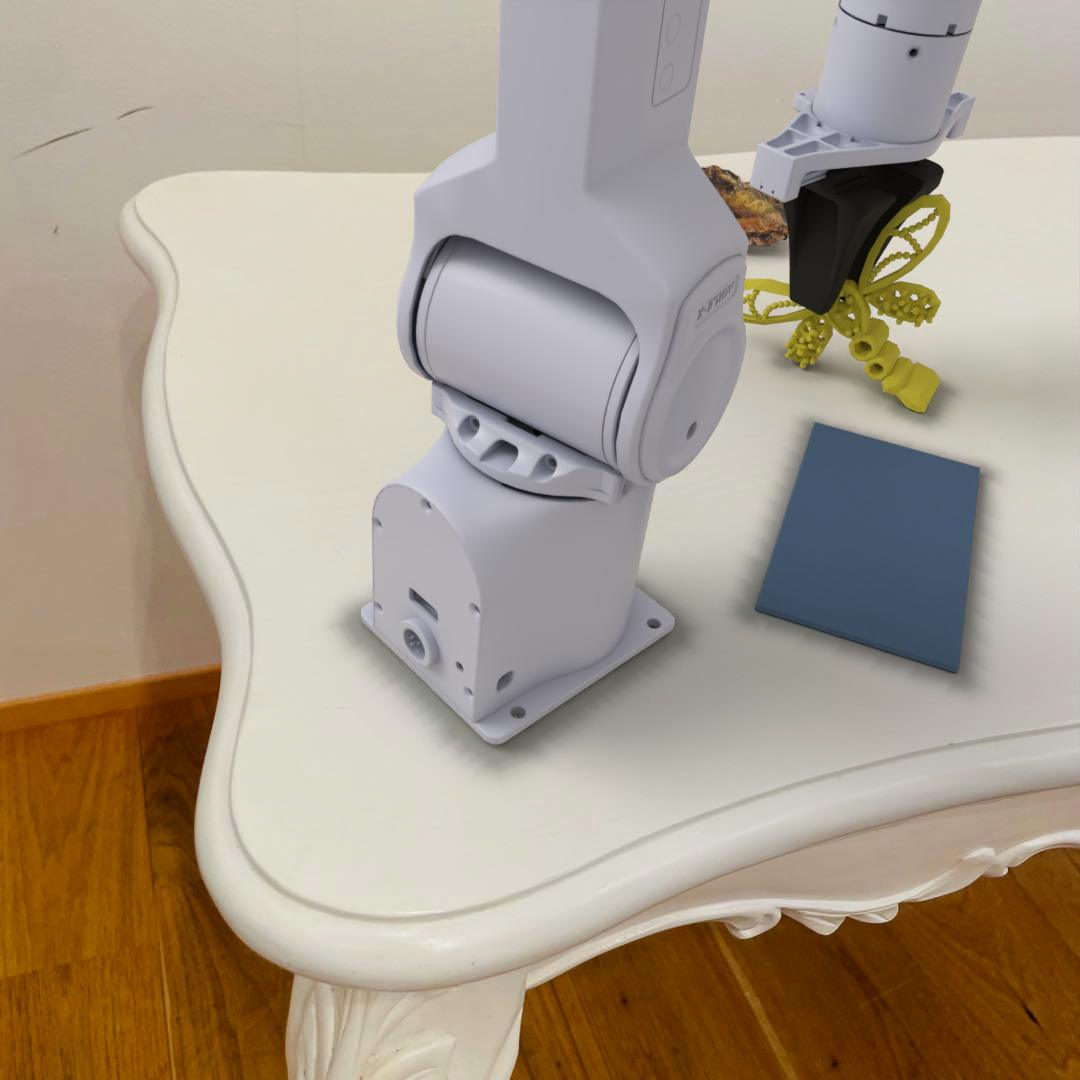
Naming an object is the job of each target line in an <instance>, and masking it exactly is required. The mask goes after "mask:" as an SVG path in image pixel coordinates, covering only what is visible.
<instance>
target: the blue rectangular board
mask: <svg viewBox="0 0 1080 1080" xmlns="http://www.w3.org/2000/svg"><path fill="white" fill-rule="evenodd" d="M980 473H981V467H979V466H976V465H972V464H969V463H966V462H961V461H957V460H954V459H950V458H947V457H943V456H939V455H935V454H933V453H928V452H925V451H921V450H918V449H914V448H910V447H907V446H904V445H901V444H900V445H899V444H896V443H892V442H889V441H886V440H882V439H878V438H874V437H872V436H867V435H864V434H860V433H857V432H853V431H849V430H846V429H842V428H838V427H835V426H831V425H827V424H825V423H820V422H817V421H815V422H814V423H813V427H812V429H811V434H810V436H809V439H808V441H807V445H806V449H805V452H804V455H803V458H802V461H801V464H800V467H799V470H798V473H797V477H796V480H795V483H794V486H793V489H792V493H791V496H790V499H789V502H788V505H787V507H786V511H785V514H784V517H783V521H782V523H781V526H780V530H779V533H778V535H777V538H776V542H775V546H774V548H773V552H772V554H771V558H770V561H769V564H768V568H767V570H766V573H765V574H766V575H765V576H764V580H763V583H762V586H761V589H760V592H759V595H758V599H757V602H756V605H755V608H754V609H755V611H758V612H762V613H765V614H767V615H771V616H775V617H778V618H781V619H784V620H787V621H790V622H793V623H796V624H799V625H803V626H806V627H808V628H812V629H815V630H818V631H822V632H825V633H828V634H831V635H834V636H837V637H841V638H843V639H847V640H851V641H854V642H857V643H860V644H863V645H866V646H869V647H872V648H876V649H878V650H881V651H885V652H888V653H891V654H895V655H897V656H900V657H903V658H906V659H911V660H913V661H916V662H919V663H923V664H926V665H929V666H932V667H937V668H939V669H941V670H945V671H948V672H950V673H955V674H957V673H958V671H959V669H960V662H961V653H962V643H963V635H964V625H965V617H966V607H967V599H968V597H967V596H968V588H969V587H968V586H969V577H970V569H971V568H970V567H971V558H972V550H973V540H974V539H973V538H974V530H975V520H976V511H977V502H978V493H979V482H980Z"/></svg>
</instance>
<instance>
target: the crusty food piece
mask: <svg viewBox="0 0 1080 1080" xmlns="http://www.w3.org/2000/svg"><path fill="white" fill-rule="evenodd" d="M701 169H702V170H703V172H704V173H705V175H706V176H707V177H708V179H709V180H710V182H711V183H712V184H713V186H714V187H715V189H716V190H717V192H718V193H719V194H720V196H721V197H722V199H723V200H724V201H725V203H726V204H727V206H728V207H729V209H730V210H731V212H732V213H733V215H734V216H735V218H736V220H737V221H738V223H739V224H740V226H741V227H742V229H743V230H744V232H745V233H746V236H747V238H748V241H749V246H750V245H751V246H754V247H770V246H771V245H772V244H775V243H776V242H779V240H781V241H787V240H788V238H789V237H788V228H787V222H785V221H784V218H783V216H782V214H781V212H780V211H779V210H776V209H775V208H777V209H782V210H784V207H783V203H782V201H780V200H777V199H775V198H774V197H771V196H769V195H767V194H765V193H763V192H761V191H759V190H757V189H755V188H753V187H750V185H749V183H750V181H742V179H741V176H740V175H737V174H736V173H734V172H733V171H731V170H730V169H725V168H721V166H718V165H715V164H710V165H708V166H706V167H705V166H703V167H701Z"/></svg>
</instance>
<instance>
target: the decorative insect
mask: <svg viewBox="0 0 1080 1080" xmlns="http://www.w3.org/2000/svg"><path fill="white" fill-rule="evenodd" d="M951 205H952V204H951V203H950V202H949V200H948V199H947V197H945V196H944V194H942V193H940V194H938V193H937V194H929V195H923V196H921V197H920V198H918V199H916V200H914V201H913V202H911V203H909V204H907V205H906V206H904V207H903V208H902V209H901V210H900V211H899V212H898V213H897V214H896V215H895V216H894V218H893V219H892V220H891V221H890V222H889V223H888V224H887V225H886V226H885V227H884V229H883V230H882V231H881V233H880V235H879V236H878V238H877V240H876V242H875V243H874V245H873V247H872V248H871V250H870V252H869V254H868V256H867V259H866V262H865V265H864V267H863V270H862V273H861V276H860V279H859V286H858V285H857V284H856V283H855V282H854V281H853V280H848V279H846V280H845V283H844V285H843V287H842V290H841V292H840V294H839V296H838V298H837V300H836V301H835V303H834V305H833V306H832V308H831V309H830V311H829V312H827V313H825V314H823V315H818V314H816V313H814V312H812V311H810V310H808V309H806V308H805V307H804V308H802V307H803V306H801V305H799V304H797V303H795V302H793V301H792V300H790V299H787V300H786V299H785V300H784V301H783V300H779V301H777V302H772V303H771V304H768V305H766V306H765V309H763V310H762V314H760V313H759V311H758V310H757V309H756V306H755V305H756V302H755V301H756V300H757V296H759V295H760V293H761V292H765V293H768V294H774V295H779V296H784V297H788V298H790V291H789V283H786V282H782V281H779V280H776V279H773V278H745V284H744V291H750V290H752V293H748V294H746V295H745V296H743V305H745V304H747V305H748V306H749V307H748V311H749V312H750V313H749V314H748V313H745V312H743V320H744V324H752V325H760V326H768V325H769V326H770V325H776V324H784V323H790V322H798V321H799V323H798V324H797V326H796V328H795V330H794V331H793V332H792V333H791V338H790V339H789V341H787V342H786V343H784V347H785V348H786V349H788V350H787V352H786V353H785V354H784V358H785V359H788V360H789V359H792V360H793V362H794V363H797V364H799V367H800V369H803V370H805V368H806V367H807V365H808V364H809V365H811V366H814V365H816V362H817V359H819V358H820V357H821V355H822V354H823V352H824V350H825V349H826V347H827V345H828V344H829V342H830V341H831V339H832V337H833V336H834V330H835V331H836V332H837V333H838V334H840V335H841V336H843V337H844V338H847V339H850V342H849V343H848V350H849V353H850V356H851V357H853V358H854V359H855V360H856V361H857V362H858V361H859V362H864V363H865V364H864V366H863V368H864V373H865V375H867V377H868V378H870V379H871V380H875V381H877V382H878V381H881V382H880V383H881V388H882V392H883V393H886V394H889V395H892V396H896V398H898V399H899V400H900V402H901V403H902V404H903V405H904V406H905V407H906V408H907V409H909V410H912V411H913V412H916V413H925V412H926V410H927V408H928V406H929V404H930V402H931V401H932V398H933V397H934V395H935V393H936V391H937V389H938V387H939V386H940V383H941V381H942V380H941V378H940V377H939V376H938V373H937V372H936V371H935V370H934V369H932V368H930V367H928V366H927V365H924V364H922V363H921V362H918V361H917V362H915V363H914V362H913V361H912V360H911V358H909V357H904V356H901V351H900V349H899V346H898V344H896V343H895V342H892V340H889V337H890V327H889V326H888V324H887V323H886V322H885V320H884V319H881V318H877V317H874V316H872V309H871V306H872V307H874V308H875V309H877V310H878V311H877V312H876V314H877V316H880V317H882V316H883V315H885V316H887V317H889V318H892V319H896V320H895V324H896V325H898V326H901V325H902V324H903V322H907V323H910V324H913V326H914V327H915V328H920V327H921V325H922V323H924V321H925V322H926V324H932V323H933V318H935V317H936V316H937V313H938V311H939V309H940V306H941V304H942V302H941V300H940V298H939V297H938V295H937V293H936V291H935V290H933V289H931V288H929V287H926V286H925V285H924V284H923V285H922V284H920V283H915V282H909V281H904V280H899V279H901V278H903V277H905V276H906V275H908V274H909V273H911V272H913V271H914V269H916V267H917V266H919V265H920V264H921V263H922V262H923V261H924V260H925V259H926V258H927V257H928V256H929V255H930V254H932V252H933V251H934V249H935V248H936V247H937V246H938V244H939V242H940V241H941V239H942V238H943V237H944V235H945V232H946V230H947V227H948V225H949V223H950V221H951ZM921 209H933V211H932V213H929V214H928V215H927V217H924V218H923V219H922V220H921V222H920V221H917V222H916V223H915V224H911V225H909V226H908V227H906V226H904V227H902V228H901V230H900V229H899V230H898V229H893V228H895V227H896V226H898V225H899V224H900V223H902V222H903V221H904V220H906V221H907V220H908V218H910V217H911V216H913V215H914V214H915V213H917V212H918V211H920V210H921ZM937 216H938V220H937V223H936V227H935V230H934V232H933V235H932V237H931V238H930V240H929V241H928V243H927V244H926V245H925V247H924V248H923V249H922V248H921V244H920V243H918V240H917V238H914V237H913V235H912V234H914V233H915V232H916V231H920V230H923V228H924V227H928V226H929V225H930V223H931V222H934V221H935V220H936V219H937ZM892 235H893V236H894V237H896V238H897V237H898V238H899V239H903V240H904V241H906V242H908V243H909V245H910V247H912V250H913V251H914V252H913V253H911V254H910V251H905V252H901V251H897V252H896V253H890V254H889V256H886V257H884V258H883V259H882V260H881V261H878V262H877V264H876V265H875V267H874V269H873V270H872V268H873V264H874V261H875V259H876V257H877V255H878V253H879V251H880V249H881V247H882V246H883V244H884V242H885V240H886V239H887V237H888V236H892ZM894 237H893V238H894ZM902 258H903V259H904V260H909V261H908V262H907V263H905V264H904V265H903V266H901V267H900V268H898V269H897V270H894V271H892V272H890V273H888V274H886V275H884V276H882V277H880V278H878V279H876V280H875V278H876V277H877V276H878V274H880V273H881V272H882V269H885V268H886V266H889V265H890V264H891V262H895V261H896V260H901V259H902ZM898 280H899V281H898ZM897 292H898V294H899V296H896V294H897ZM913 295H915V296H916V297H917V299H913V297H912V296H913ZM840 297H845V300H846V301H842V300H840ZM927 305H928V307H926V306H927ZM796 306H797V307H799V308H802V309H798V310H795V311H792V312H789V313H786V314H779V315H777V314H776V315H770V314H771V312H772V311H773V310H777V309H783V308H790V307H792V308H795V307H796ZM851 314H853V316H854V318H852V317H850V316H849V315H851ZM821 320H822V321H823V322H821ZM820 336H821V337H820Z"/></svg>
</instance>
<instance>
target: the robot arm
mask: <svg viewBox="0 0 1080 1080" xmlns="http://www.w3.org/2000/svg"><path fill="white" fill-rule="evenodd" d="M710 1H711V0H499V6H498V7H499V8H498V9H499V10H498V41H497V42H498V43H497V44H498V45H497V75H496V76H497V77H496V109H495V110H496V111H495V112H496V113H495V130H494V131H492V132H491V133H489V134H486V135H485V136H483V137H481V138H479V139H477V140H474V141H472V142H471V143H469V144H467V145H465V146H464V147H463V148H461V149H459V150H458V151H456V152H454V153H453V154H452V155H450V156H449V157H447V158H446V159H444V161H442V162H441V163H440V164H439V165H437V167H436V168H435V169H434V170H433V171H432V172H431V173H430V174H429V175H428V176H427V177H426V179H424V181H423V182H422V183H421V184H420V185H419V186H418V187H417V188H416V189H415V191H414V193H413V237H412V243H411V249H410V253H409V257H408V260H407V263H406V266H405V268H404V271H403V274H402V277H401V281H400V284H399V289H398V294H397V301H396V337H397V343H398V347H399V351H400V353H401V356H402V359H403V361H404V362H405V363H406V365H407V366H408V368H409V369H410V370H412V372H414V373H415V374H416V375H417V376H419V377H421V378H423V379H425V380H427V381H431V395H430V396H431V397H430V403H431V404H430V413H431V414H432V415H434V416H435V417H437V418H439V419H440V420H441V421H442V422H443V423H444V424H445V426H444V428H443V429H442V431H441V434H440V435H439V437H438V438H437V439H436V440H435V442H434V443H433V444H432V446H431V447H430V448H429V449H428V451H426V453H425V454H424V455H422V456H421V457H420V459H418V460H417V461H416V462H415V463H414V464H413V465H411V466H410V467H408V468H407V469H406V470H405V471H404V472H402V473H401V474H399V475H398V476H396V477H394V478H393V479H392V480H390V481H389V482H387V483H385V485H383V486H382V487H381V488H380V490H379V491H378V492H377V494H376V496H375V498H374V500H373V505H372V510H371V552H372V553H371V554H372V559H371V560H372V561H371V563H372V564H371V565H372V601H369V602H367V603H366V604H365V605H364V606H362V607H361V609H360V620H361V622H362V623H363V624H364V625H365V626H366V627H367V628H368V629H369V630H370V631H371V632H372V633H373V634H374V635H375V636H376V637H377V638H378V639H379V640H380V641H381V642H382V643H383V644H385V646H386V647H387V648H389V650H390V651H392V652H393V653H394V654H395V655H396V656H397V658H399V660H401V661H402V662H403V663H404V664H405V665H406V666H407V667H408V668H409V670H411V671H412V672H413V673H414V674H416V676H417V677H419V678H420V679H421V680H422V681H423V682H424V683H425V684H426V685H427V686H428V687H429V688H430V689H431V690H432V691H433V693H435V694H436V695H437V696H438V697H439V698H440V699H441V700H442V701H443V702H444V703H445V704H446V705H447V706H448V707H449V708H450V709H452V711H453V712H455V713H456V714H457V716H459V717H460V718H461V719H462V720H463V721H464V722H465V723H466V724H467V725H468V726H469V727H470V728H471V729H472V730H473V731H474V732H475V733H476V734H477V735H478V736H479V737H480V738H481V739H482V740H483V741H485V742H486V743H488V744H490V745H502V744H504V743H506V742H508V741H509V740H510V739H512V738H514V737H515V736H517V735H518V734H519V733H521V732H522V731H524V730H526V729H527V728H528V727H531V725H533V724H535V723H536V722H537V721H539V720H541V719H542V718H544V717H545V716H547V715H548V714H550V713H551V712H552V711H554V710H556V709H557V708H558V707H560V706H562V705H563V704H564V703H566V702H567V701H569V700H571V699H572V698H573V697H575V696H577V695H578V694H579V693H581V692H582V691H584V690H585V689H587V688H588V687H589V686H591V685H593V684H594V683H596V682H597V681H599V680H601V679H602V678H603V677H605V676H607V675H608V674H610V673H611V672H612V671H614V670H615V669H617V668H619V666H621V665H623V664H624V663H626V662H628V661H629V660H631V659H632V658H633V657H635V656H637V654H639V653H641V652H643V651H644V650H645V649H647V648H648V647H650V646H651V645H653V644H654V643H656V642H657V641H659V640H660V639H662V638H663V637H665V636H666V635H668V634H669V633H671V632H672V631H673V630H674V627H675V622H676V617H675V616H674V615H673V614H672V612H671V611H669V610H668V609H666V607H664V606H663V605H661V604H660V603H659V602H657V601H656V600H655V599H654V598H652V597H651V596H650V595H648V594H647V593H646V592H644V591H643V590H642V589H641V588H640V587H639V586H637V585H636V582H637V577H638V573H639V570H640V569H639V568H640V564H641V559H642V554H643V549H644V544H645V539H646V534H647V530H648V524H649V520H650V515H651V511H652V506H653V500H654V496H655V492H656V485H658V484H660V483H662V482H663V481H665V480H666V479H669V478H671V477H673V476H676V475H678V474H679V473H680V472H682V471H683V470H684V469H686V468H687V467H688V466H689V465H690V464H691V463H692V462H693V461H694V460H695V459H696V458H697V456H698V455H699V454H700V453H701V451H702V450H703V448H704V447H705V446H706V445H707V443H708V442H709V440H710V439H711V438H712V435H713V434H714V432H715V430H716V429H717V427H718V425H719V424H720V421H721V419H722V418H723V416H724V414H725V411H726V410H727V407H728V405H729V403H730V401H731V398H732V396H733V393H734V391H735V388H736V385H737V383H738V380H739V378H740V374H741V371H742V366H743V363H744V358H745V353H746V346H747V329H746V323H745V322H744V320H743V313H744V304H743V297H744V294H745V293H744V291H745V290H744V284H745V279H746V278H747V277H746V276H747V271H748V266H747V261H746V259H747V255H748V250H749V247H750V245H749V241H748V238H747V236H746V233H745V232H744V230H743V229H742V227H741V226H740V224H739V223H738V221H737V220H736V218H735V216H734V215H733V213H732V212H731V210H730V209H729V207H728V206H727V204H726V203H725V201H724V200H723V199H722V197H721V196H720V194H719V193H718V192H717V190H716V189H715V187H714V186H713V184H712V183H711V182H710V180H709V178H708V176H707V175H705V173H704V172H703V170H702V169H701V168H702V167H701V165H700V164H699V163H698V161H697V159H696V158H695V156H694V155H693V153H692V151H691V149H690V146H689V136H690V131H691V123H692V116H693V112H694V111H693V110H694V105H695V97H696V91H697V85H698V78H699V73H700V66H701V58H702V52H703V46H704V39H705V33H706V27H707V20H708V14H709V7H710ZM982 3H983V0H838V4H837V7H836V12H835V15H834V19H833V23H832V26H831V31H830V36H829V40H828V43H827V47H826V52H825V55H824V59H823V63H822V68H821V71H820V74H819V80H818V83H817V86H816V87H815V86H814V87H810V88H806V89H803V90H799V91H797V92H796V93H794V96H793V100H792V106H791V107H792V109H793V110H795V111H796V112H799V113H798V114H797V115H796V116H795V117H793V119H792V120H791V121H790V122H789V123H788V124H786V125H785V127H783V129H781V131H780V132H778V133H777V134H775V135H774V136H773V137H771V138H769V139H766V140H764V141H761V142H759V143H758V144H757V150H756V152H755V157H754V162H753V167H752V171H751V174H750V179H749V182H750V183H749V185H750V187H753V188H755V189H757V190H759V191H761V192H763V193H765V194H767V195H769V196H771V197H774V198H775V199H777V200H780V201H782V203H783V207H784V209H783V211H784V215H785V220H786V223H787V228H788V237H787V238H788V255H789V257H788V259H789V260H788V261H789V263H788V265H789V269H788V272H789V275H788V276H789V277H788V278H789V279H788V280H789V282H788V284H789V291H790V297H789V301H793V302H795V303H797V304H799V305H801V306H802V307H803V308H804V309H805V308H806V309H808V310H810V311H812V312H814V313H816V314H818V315H823V314H825V313H827V312H829V311H830V309H831V308H832V306H833V305H834V303H835V301H836V300H837V298H838V296H839V294H840V292H841V290H842V287H843V285H844V283H845V280H846V279H848V280H853V281H854V282H855V283H856V284H857V285H858V286H859V279H860V276H861V273H862V270H863V267H864V265H865V262H866V259H867V256H868V254H869V252H870V250H871V248H872V247H873V245H874V243H875V242H876V240H877V238H878V236H879V235H880V233H881V231H882V230H883V229H884V227H885V226H886V225H887V224H888V223H889V222H890V221H891V220H892V219H893V218H894V216H895V215H896V214H897V213H898V212H899V211H900V210H901V209H902V208H903V207H904V206H906V205H907V204H909V203H911V202H913V201H914V200H916V199H918V198H920V197H921V196H923V195H931V194H932V193H933V192H934V191H935V190H937V189H938V187H939V186H940V184H941V182H942V178H943V176H944V173H945V169H944V168H943V166H942V165H940V164H939V163H938V162H935V161H933V160H930V159H929V158H930V157H932V156H933V155H934V154H935V153H936V152H937V151H938V150H939V148H940V147H941V145H942V144H943V142H944V140H945V139H949V140H953V139H957V138H960V137H962V136H964V133H965V130H966V127H967V124H968V121H969V118H970V115H971V112H972V110H973V108H974V107H973V106H974V105H975V101H976V96H974V95H972V94H969V93H967V92H963V91H961V90H959V89H956V88H954V86H955V83H956V81H957V76H958V75H959V72H960V68H961V65H962V62H963V59H964V56H965V54H966V51H967V48H968V45H969V42H970V39H971V36H972V32H973V30H974V27H975V23H976V20H977V18H978V15H979V11H980V8H981V5H982ZM906 221H907V219H906V220H904V221H903V222H902V223H900V224H899V225H898V226H896V227H895V228H893V229H898V230H899V231H900V228H901V227H902V226H903V225H904V223H905V222H906ZM893 238H894V236H893V235H892V236H888V237H887V239H886V240H885V242H884V244H883V246H882V247H881V249H880V251H879V253H878V255H877V257H876V259H875V261H874V264H873V268H872V270H874V267H875V266H877V265H878V263H879V260H880V259H881V257H882V255H883V254H884V252H885V250H886V249H887V248H888V246H889V244H890V242H891V241H892V240H893ZM840 301H846V300H845V297H840ZM653 627H654V628H653ZM513 715H520V716H521V717H520V718H519V717H515V716H513Z"/></svg>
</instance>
